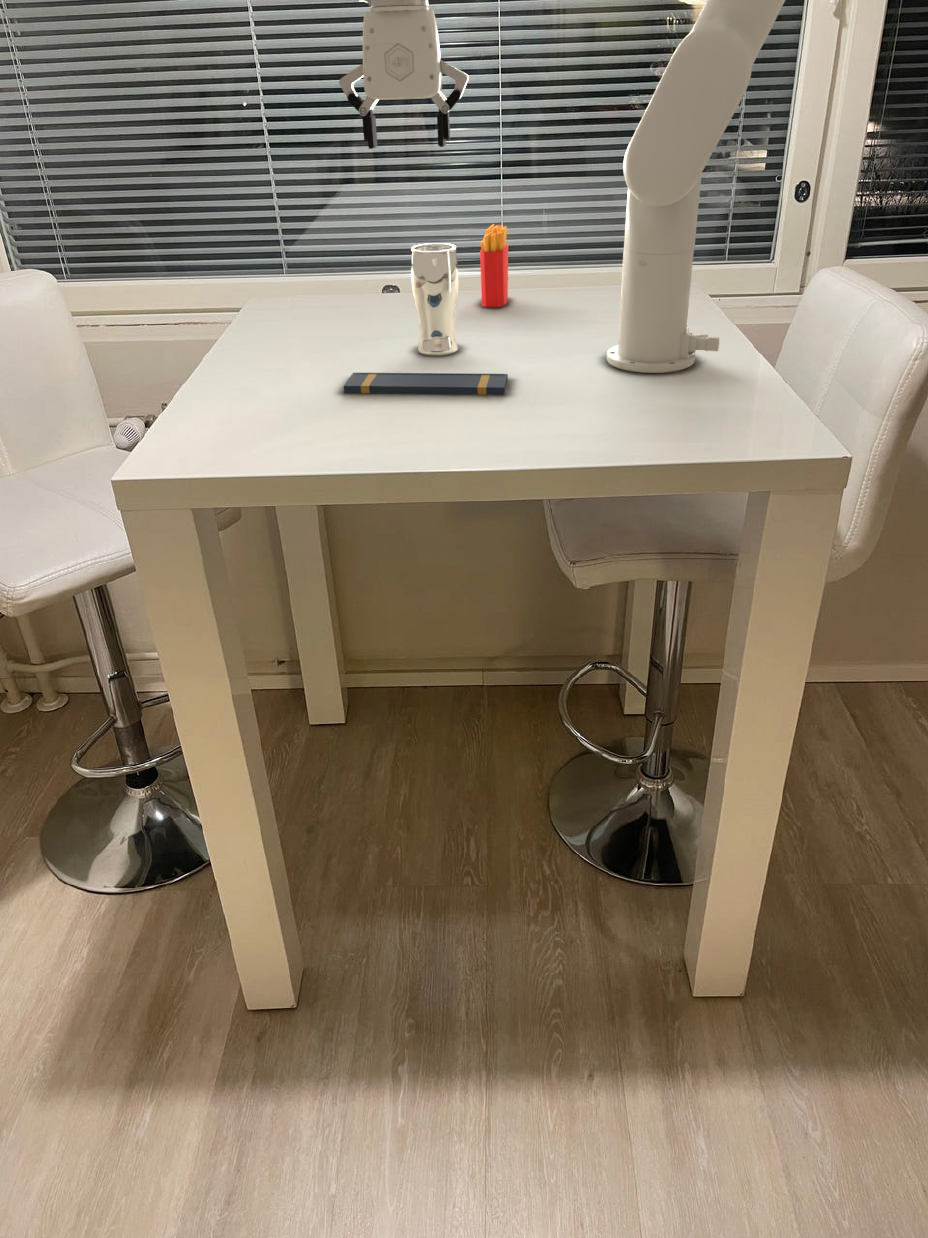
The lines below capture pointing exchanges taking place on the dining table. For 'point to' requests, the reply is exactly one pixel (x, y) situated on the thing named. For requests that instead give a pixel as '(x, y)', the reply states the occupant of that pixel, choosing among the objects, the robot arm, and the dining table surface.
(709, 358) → the dining table surface
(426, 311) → the beer glass
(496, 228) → the french fries
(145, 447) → the dining table surface
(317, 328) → the dining table surface
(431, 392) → the blue striped flat box
